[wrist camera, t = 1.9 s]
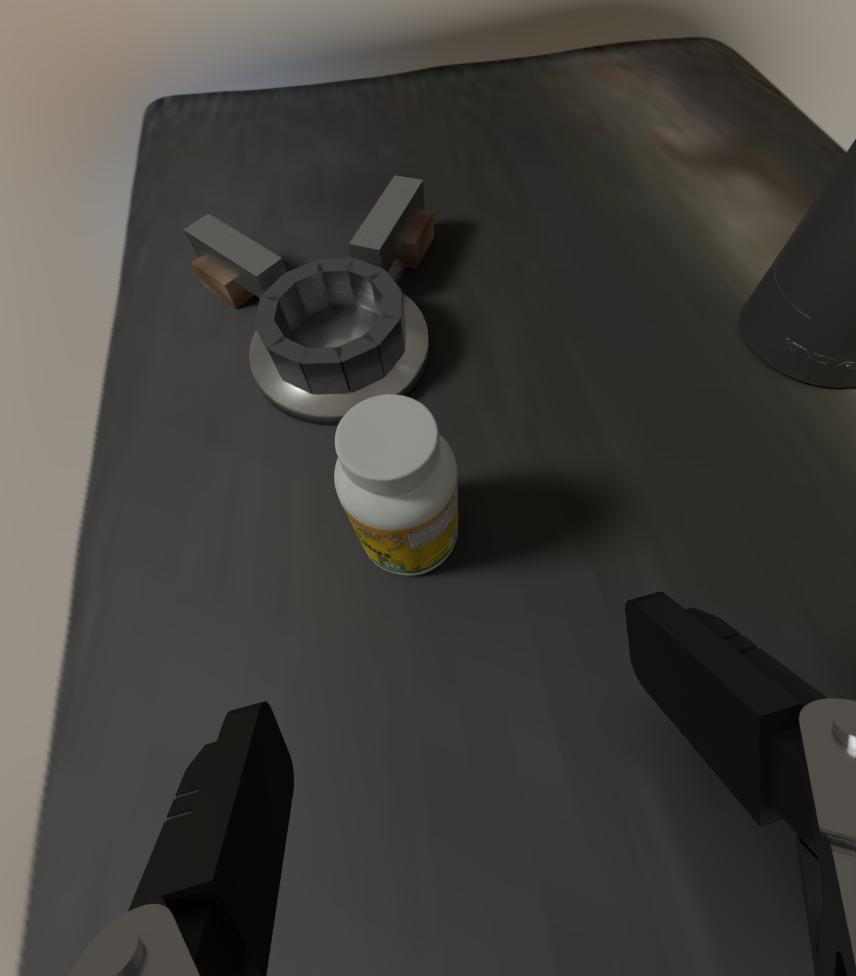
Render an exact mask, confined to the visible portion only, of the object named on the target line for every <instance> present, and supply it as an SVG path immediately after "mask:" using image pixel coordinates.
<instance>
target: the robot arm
mask: <svg viewBox="0 0 856 976" xmlns="http://www.w3.org/2000/svg"><path fill="white" fill-rule="evenodd" d="M740 324H741V329H742V333H743V336H744V337H745V339H746V341H747V343H748V345H749V346H750V347H751V348H752V350H753V351H754V352H755V353H756V354H757V356H759V357H760V358H761V359H762V360H763V361H765V362H766V363H767V364H768V365H769V366H771V367H773V368H774V369H776V370H778V371H779V372H781V373H783V374H785V375H787V376H789V377H792V378H794V379H797V380H799V381H802V382H806V383H810V384H813V385H817V386H824V387H833V388H844V387H855V386H856V139H855V141H854V142H853V144H852V145H851V147H850V148H849V150H848V151H847V153H846V154H845V156H844V157H843V159H842V160H841V162H840V163H839V165H838V166H837V168H836V169H835V171H834V172H833V174H832V175H831V177H830V178H829V180H828V181H827V183H826V184H825V186H824V187H823V189H822V190H821V192H820V193H819V195H818V196H817V198H816V199H815V201H814V202H813V204H812V205H811V207H810V208H809V210H808V211H807V213H806V214H805V216H804V217H803V219H802V220H801V222H800V223H799V225H798V226H797V228H796V229H795V231H794V232H793V234H792V235H791V237H790V238H789V240H788V241H787V243H786V244H785V246H784V247H783V249H782V250H781V252H780V253H779V254H778V256H777V257H776V259H775V260H774V262H773V263H772V265H771V266H770V268H769V269H768V271H767V272H766V274H765V275H764V277H763V278H762V280H761V281H760V283H759V284H758V286H757V287H756V289H755V290H754V292H753V293H752V295H751V296H750V298H749V300H748V301H747V303H746V304H745V306H744V308H743V311H742V313H741V322H740ZM625 613H626V623H627V632H628V641H629V650H630V659H631V663H632V667H633V669H634V672H635V674H636V676H637V678H638V680H639V682H640V684H641V685H642V686H643V688H644V689H645V690H646V691H647V693H648V694H649V695H650V696H651V697H652V699H653V700H654V701H655V702H656V703H657V704H658V706H659V707H660V708H661V709H662V710H663V712H664V713H665V714H666V715H667V716H668V718H669V719H670V720H671V721H672V722H673V724H674V725H675V726H676V727H677V728H678V729H679V731H680V732H681V733H682V734H683V735H684V737H685V738H686V739H687V740H688V741H689V743H690V744H691V745H692V746H693V747H694V748H695V750H696V751H697V752H698V753H699V754H700V756H701V757H702V758H703V759H704V760H705V762H706V763H707V764H708V765H709V766H710V767H711V769H712V770H713V771H714V772H715V773H716V775H717V776H718V777H719V778H720V779H721V781H722V782H723V783H724V784H725V785H726V786H727V788H728V789H729V790H730V791H731V792H732V794H733V795H734V796H735V797H736V798H737V800H738V801H739V802H740V803H741V804H742V805H743V807H744V808H745V809H746V810H747V811H748V813H749V814H750V815H751V816H752V817H753V819H754V820H755V821H756V822H757V823H758V824H759V826H760V827H761V826H764V825H767V824H770V823H773V822H776V821H779V820H782V819H784V820H785V821H786V822H787V823H788V824H789V825H790V826H791V827H792V829H793V830H794V831H795V832H796V847H797V854H798V861H799V867H800V874H801V881H802V888H803V895H804V902H805V909H806V916H807V923H808V930H809V937H810V944H811V950H812V957H813V965H814V973H815V976H856V701H852V700H847V699H831V698H829V699H828V698H826V697H825V696H824V695H822V694H821V693H820V692H818V691H817V690H816V689H814V688H813V687H812V686H810V685H809V684H808V683H806V682H805V681H804V680H802V679H801V678H800V677H798V676H797V675H796V674H794V673H793V672H792V671H790V670H789V669H788V668H786V667H785V666H783V665H782V664H781V663H779V662H778V661H777V660H775V659H774V658H773V657H771V656H770V655H769V654H767V653H766V652H765V651H763V650H762V649H758V648H757V646H756V645H755V644H754V643H753V642H751V641H750V640H749V639H747V638H746V637H745V636H741V635H740V634H739V632H738V631H736V630H735V629H734V628H732V627H731V626H730V625H728V624H727V623H726V622H724V621H723V620H722V619H720V618H719V617H716V616H714V615H711V614H709V613H706V612H704V611H701V610H699V609H696V608H689V609H686V610H685V609H684V608H683V607H681V606H680V605H679V604H678V603H676V602H675V601H674V600H673V599H671V598H670V597H669V596H667V595H666V594H665V593H663V592H657V593H653V594H650V595H646V596H642V597H639V598H635V599H632V600H628V601H627V602H626V605H625ZM293 790H294V772H293V765H292V760H291V757H290V754H289V751H288V749H287V746H286V744H285V741H284V739H283V736H282V734H281V731H280V729H279V726H278V724H277V721H276V718H275V716H274V713H273V711H272V709H271V706H270V705H269V704H268V702H266V701H264V702H260V703H257V704H253V705H250V706H246V707H242V708H239V709H235V710H232V711H229V712H228V713H227V715H226V717H225V720H224V722H223V725H222V728H221V731H220V733H219V736H218V739H217V742H213V743H210V744H206V745H205V746H204V747H203V748H202V750H201V751H200V752H199V753H198V755H197V756H196V757H195V759H194V760H193V761H192V762H191V764H190V765H189V766H188V767H187V769H186V771H185V773H184V776H183V778H182V781H181V783H180V786H179V788H178V790H177V793H176V799H175V800H173V803H172V805H171V808H170V810H169V812H168V815H167V821H166V822H164V825H163V827H162V830H161V832H160V834H159V837H158V839H157V842H156V844H155V847H154V849H153V852H152V854H151V856H150V859H149V861H148V864H147V866H146V869H145V871H144V874H143V876H142V878H141V881H140V883H139V886H138V888H137V891H136V893H135V895H134V898H133V900H132V903H131V905H130V908H129V910H128V912H127V913H125V914H124V915H122V916H121V917H119V918H118V919H116V920H115V921H114V922H112V923H111V924H110V925H109V926H107V927H106V928H105V929H104V930H103V931H102V932H101V933H100V934H99V935H98V936H97V937H96V938H95V939H94V940H93V941H92V942H91V944H90V945H89V946H88V947H87V949H86V950H85V951H84V952H83V954H82V955H81V957H80V958H79V960H78V961H77V963H76V964H75V966H74V967H73V969H72V971H71V973H70V975H69V976H266V974H267V968H268V961H269V954H270V947H271V940H272V934H273V927H274V920H275V913H276V906H277V899H278V893H279V886H280V879H281V872H282V865H283V859H284V852H285V845H286V838H287V831H288V824H289V818H290V811H291V804H292V797H293Z"/></svg>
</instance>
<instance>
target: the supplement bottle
mask: <svg viewBox="0 0 856 976" xmlns="http://www.w3.org/2000/svg"><path fill="white" fill-rule="evenodd" d="M335 447H336V452H337V455H338V459H337V462H336V467H335V474H334V480H335V487H336V491H337V494H338V497H339V500H340V502H341V504H342V506H343V508H344V510H345V512H346V514H347V516H348V518H349V520H350V522H351V524H352V526H353V528H354V530H355V531H356V534H357V536H358V537H359V539H360V541H361V543H362V546H363V548H364V549H365V551H366V553H367V554H368V556H369V557H370V559H371V560H372V561H373V562H374V563H375V564H376V565H378V566H379V567H381V568H382V569H384V570H386V571H389V572H392V573H396V574H400V575H407V576H412V575H420V574H424V573H426V572H429V571H431V570H433V569H434V568H436V567H437V566H439V565H440V564H441V563H442V562H444V561H445V559H446V558H447V557H448V556H449V554H450V553H451V551H452V550H453V548H454V545H455V543H456V539H457V534H458V481H457V466H456V461H455V457H454V454H453V452H452V450H451V448H450V446H449V445H448V443H447V442H446V441H445V439H444V438H443V437H442V436H441V435H440V434H439V433H438V428H437V424H436V421H435V419H434V417H433V415H432V414H431V412H430V411H429V410H428V409H427V408H426V407H425V406H424V405H423V404H421V403H420V402H418V401H416V400H414V399H412V398H409V397H406V396H403V395H394V394H385V395H378V396H375V397H371V398H368V399H366V400H363V401H361V402H360V403H358V404H357V405H355V406H354V407H352V408H351V409H350V410H349V411H348V412H347V413H346V414H345V415H344V417H343V418H342V419H341V421H340V423H339V425H338V427H337V430H336V435H335Z"/></svg>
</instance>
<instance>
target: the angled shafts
mask: <svg viewBox="0 0 856 976" xmlns="http://www.w3.org/2000/svg"><path fill="white" fill-rule="evenodd" d="M424 210H425V206H424V190H423V180H419V179H413V178H407V177H401V176H394V178H393V179H392V181H391V182H390V184H389V185H388V187H387V188H386V190H385V191H384V193H383V194H382V195H381V197H380V198H379V200H378V201H377V203H376V204H375V206H374V207H373V209H372V210H371V212H370V213H369V215H368V216H367V218H366V219H365V221H364V222H363V224H362V225H361V227H360V228H359V230H358V231H357V233H356V234H355V236H354V237H353V239H352V240H351V242H350V243H349V246H350V250H351V255H352V258H353V260H354V259H358V260H361V261H363V262H366V263H369V264H372V265H374V266H377V267H380V268H383V269H384V270H386V272H388V271H389V269H390V267H391V266H392V264H393V262H394V261H395V259H396V257H397V256H398V254H399V252H400V251H401V249H402V247H403V246H404V244H405V242H406V240H407V239H408V237H409V235H410V234H411V232H412V230H413V229H414V227H415V225H416V224H417V222H418V220H419V219H420V217H421V215H422V214H423V212H424ZM184 232H185V234H186V235H187V237H188V239H189V241H190V243H191V245H192V247H193V248H194V250H195V252H196V254H197V256H198V258H200V259H201V260H203V261H204V262H206V263H207V264H209V265H210V266H212V267H213V268H215V269H216V270H218V271H219V272H221V273H222V274H224V275H225V276H227V277H228V278H230V279H231V280H233V281H234V282H236V283H237V284H239V285H240V286H242V287H243V288H245V289H246V290H248V291H250V292H251V293H253V294H254V295H256V296H257V297H259V298H260V297H261V295H262V294H263V293H264V292H265V291H267V290H268V289H269V288H270V287H271V286H272V285H273V284H274V283H275V282H276V281H277V280H278V279H279V278H280V277H281V276H282V275H283V274H285V273H286V272H287V271H286V268H285V265H284V262H283V260H282V258H281V257H279V256H278V255H276V254H274V253H273V252H271V251H269V250H268V249H266V248H264V247H263V246H261V245H259V244H258V243H256V242H254V241H253V240H251V239H249V238H248V237H246V236H244V235H243V234H241V233H239V232H238V231H236V230H234V229H233V228H231V227H229V226H228V225H226V224H225V223H223V222H221V221H220V220H218V219H216V218H215V217H213V216H211V215H210V214H208V215H206V216H204V217H203V218H201V219H200V220H198V221H197V222H195V223H193V224H192V225H190V226H189V227H187V228H185V229H184Z"/></svg>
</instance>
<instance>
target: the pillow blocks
mask: <svg viewBox="0 0 856 976" xmlns="http://www.w3.org/2000/svg"><path fill="white" fill-rule="evenodd" d="M433 239H434V217H433V211H429V210H424V212H423V214H422V215H421V217H420V219H419V220H418V222H417V224H416V225H415V227H414V229H413V230H412V232H411V234H410V235H409V237H408V239H407V240H406V242H405V244H404V246H403V247H402V249H401V251H400V252H399V254H398V256H397V257H396V259H395V261H394V262H393V265H398V266H403V267H408V268H413V269H417V267H418V265H419V264H420V262H421V260H422V258H423V256H424V255H425V253H426V251H427V249H428V247H429V246H430V244H431V242H432V240H433ZM191 264H192V266H193V267H194V269H195V271H196V273H197V275H198V276H199V278H200V280H201V282H202V283H203V285H204V287H206V288H207V289H208V290H210V291H211V292H213V293H214V294H216V295H217V296H219V297H220V298H221V299H223V300H224V301H226V302H227V303H229V304H230V305H232V306H233V307H234V308H236V309H237V308H238V307H240V306H241V305H242V304H244V303H245V302H247V301H248V300H249V299H251V298H252V297H253V296H255V295H254V294H253V293H251V292H250V291H248V290H246V289H245V288H243V287H242V286H240V285H239V284H237V283H236V282H234V281H233V280H231V279H230V278H228V277H227V276H225V275H224V274H222V273H221V272H219V271H218V270H216V269H215V268H213V267H212V266H210V265H209V264H207V263H206V262H204V261H203V260H201V259H200V258H197V259H196V260H194V261H193V262H191Z"/></svg>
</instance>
